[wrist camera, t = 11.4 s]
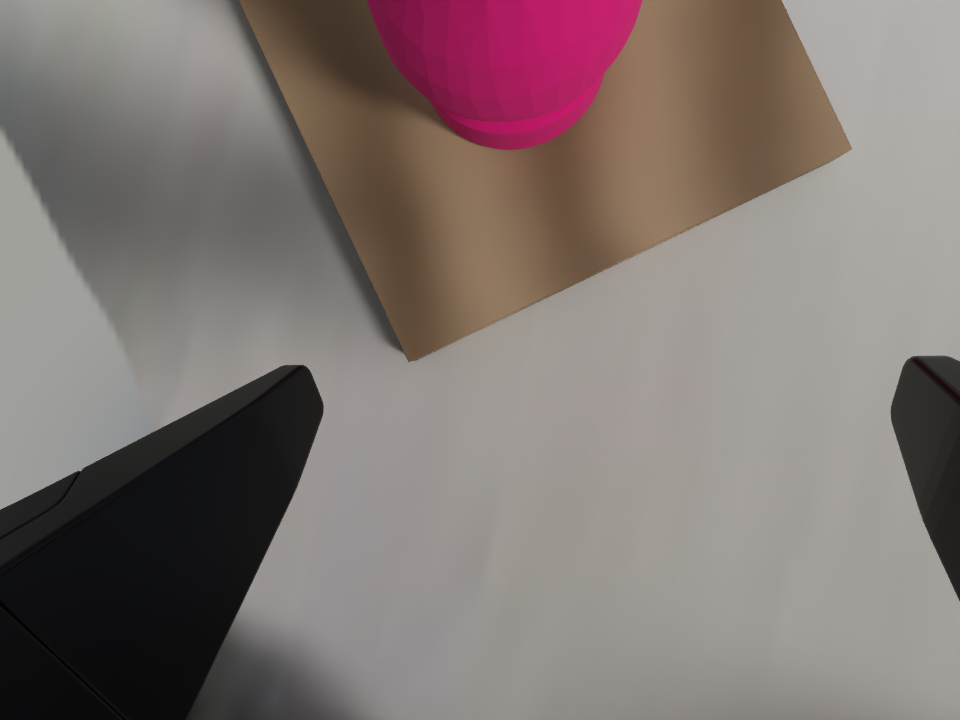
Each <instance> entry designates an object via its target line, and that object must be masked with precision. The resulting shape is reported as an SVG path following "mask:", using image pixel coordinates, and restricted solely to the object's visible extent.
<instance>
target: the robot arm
mask: <svg viewBox="0 0 960 720" xmlns="http://www.w3.org/2000/svg"><path fill="white" fill-rule="evenodd" d="M322 416H323V401H322V399H321V396H320V394H319V391H318V389H317V386H316V384H315V381H314V379H313V376H312V374H311V372H310V370H309V369H308V368H307V367H306V366H304V365H285V366H281V367H279V368H277V369H275V370H273V371H271V372H269V373H267V374H265V375H264V376H262V377H260V378H258V379H256V380H254V381H252V382H250V383H248V384H246V385H244V386H242V387H240V388H238V389H236V390H234V391H232V392H230V393H229V394H227V395H225V396H223V397H221V398H219V399H217V400H215V401H213V402H211V403H209V404H207V405H205V406H203V407H201V408H199V409H197V410H196V411H194V412H192V413H190V414H188V415H186V416H184V417H182V418H180V419H178V420H176V421H174V422H172V423H170V424H168V425H166V426H164V427H162V428H161V429H159V430H157V431H155V432H153V433H151V434H149V435H147V436H145V437H143V438H141V439H139V440H137V441H136V442H133V443H131V444H129V445H128V446H126V447H124V448H122V449H120V450H118V451H116V452H114V453H112V454H110V455H108V456H106V457H104V458H102V459H100V460H98V461H96V462H95V463H93V464H91V465H89V466H87V467H85V468H83V469H82V471H77V472H75V473H73V474H71V475H69V476H67V477H65V478H63V479H61V480H59V481H57V482H55V483H54V484H52V485H49V486H47V487H45V488H44V489H41V490H39V491H37V492H35V493H33V494H32V495H29V496H28V497H25V498H24V499H22V500H20V501H18V502H16V503H13V504H11V505H9V506H7V507H5V508H3V509H1V510H0V720H187V718H188V716H189V714H190V712H191V709H192V707H193V705H194V703H195V701H196V699H197V697H198V695H199V693H200V691H201V688H202V686H203V684H204V682H205V680H206V678H207V676H208V674H209V672H210V670H211V667H212V665H213V663H214V661H215V659H216V657H217V655H218V653H219V651H220V649H221V646H222V644H223V642H224V640H225V638H226V636H227V634H228V632H229V630H230V628H231V625H232V623H233V621H234V619H235V617H236V615H237V613H238V611H239V609H240V607H241V605H242V602H243V600H244V598H245V596H246V594H247V592H248V590H249V588H250V586H251V584H252V581H253V579H254V577H255V575H256V573H257V571H258V569H259V567H260V565H261V563H262V560H263V558H264V556H265V554H266V552H267V550H268V548H269V546H270V544H271V542H272V539H273V537H274V535H275V533H276V531H277V529H278V527H279V525H280V523H281V521H282V518H283V516H284V514H285V512H286V510H287V508H288V506H289V504H290V502H291V500H292V497H293V495H294V493H295V491H296V488H297V486H298V483H299V481H300V478H301V475H302V473H303V470H304V467H305V464H306V461H307V458H308V456H309V453H310V450H311V447H312V444H313V442H314V439H315V436H316V433H317V430H318V427H319V425H320V422H321V419H322ZM891 421H892V425H893V428H894V431H895V434H896V438H897V441H898V444H899V447H900V450H901V454H902V457H903V460H904V463H905V466H906V470H907V473H908V476H909V479H910V482H911V486H912V489H913V492H914V495H915V498H916V502H917V505H918V508H919V510H920V513H921V516H922V519H923V522H924V524H925V527H926V529H927V531H928V533H929V536H930V538H931V540H932V543H933V545H934V547H935V549H936V551H937V553H938V555H939V558H940V560H941V562H942V564H943V566H944V568H945V571H946V573H947V575H948V577H949V579H950V581H951V583H952V586H953V588H954V590H955V592H956V594H957V596H958V599H959V601H960V361H958V360H955V359H953V358H951V357H948V356H913V357H911V358H909V359H908V360H907V361H906V362H905V364H904V366H903V368H902V372H901V375H900V378H899V382H898V385H897V388H896V392H895V395H894V398H893V402H892V406H891Z"/></svg>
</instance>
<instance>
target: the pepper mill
mask: <svg viewBox="0 0 960 720" xmlns="http://www.w3.org/2000/svg"><path fill="white" fill-rule="evenodd" d="M642 1H643V0H367V3H368V7H369V10H370V12H371V15H372V18H373V20H374V23H375V26H376V28H377V31H378V33H379V36H380V39H381V41H382V43H383V45H384V47H385V49H386V51H387V53H388V55H389V57H390V59H391V60H392V62H393V63H394V64H395V66H396V67H397V68H398V70H399V71H400V73H401V74H402V75H403V77H404V78H405V79H406V80H407V81H408V82H409V83H410V84H412V85H413V86H414V87H415V88H416V89H417V90H418V91H419V92H420V93H421V94H422V95H423V96H425V97H426V98H427V99H429V100H430V102H431V104H432V106H433V107H434V109H435V110H436V112H437V114H438V115H439V116H440V117H441V119H442V120H443V121H444V122H445V123H446V124H447V125H448V126H449V127H450V128H451V129H452V130H453V131H455V132H456V133H458V134H459V135H461V136H462V137H463V138H465V139H467V140H469V141H472V142H474V143H476V144H479V145H481V146H485V147H489V148H494V149H499V150H517V149H524V148H529V147H534V146H537V145H540V144H543V143H545V142H548V141H550V140H552V139H554V138H556V137H558V136H559V135H561V134H562V133H564V132H565V131H566V130H568V129H569V128H570V127H571V126H572V125H574V124H575V123H576V122H577V121H578V120H579V119H580V118H581V117H582V115H583V114H584V113H585V112H586V111H587V109H588V108H589V107H590V105H591V104H592V102H593V101H594V99H595V97H596V95H597V93H598V91H599V89H600V87H601V84H602V81H603V77H604V74H605V72H606V71H607V69H608V68H609V67H610V66H611V65H612V63H613V62H614V61H615V60H616V58H617V57H618V55H619V54H620V52H621V50H622V49H623V47H624V46H625V44H626V42H627V40H628V38H629V36H630V34H631V32H632V30H633V28H634V26H635V23H636V21H637V18H638V14H639V11H640V8H641V5H642Z"/></svg>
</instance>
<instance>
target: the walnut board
mask: <svg viewBox="0 0 960 720" xmlns="http://www.w3.org/2000/svg"><path fill="white" fill-rule="evenodd" d="M239 2H240V4H241V7H242V9H243V11H244V13H245V15H246V17H247V19H248V21H249V24H250V26H251V28H252V30H253V32H254V34H255V36H256V38H257V41H258V43H259V45H260V47H261V49H262V51H263V53H264V55H265V58H266V60H267V62H268V64H269V66H270V68H271V70H272V73H273V75H274V77H275V79H276V81H277V83H278V85H279V87H280V90H281V92H282V94H283V96H284V98H285V100H286V102H287V104H288V107H289V109H290V111H291V113H292V115H293V117H294V119H295V121H296V124H297V126H298V128H299V130H300V132H301V134H302V136H303V138H304V141H305V143H306V145H307V147H308V149H309V151H310V153H311V155H312V158H313V160H314V162H315V164H316V166H317V168H318V170H319V172H320V175H321V177H322V179H323V181H324V183H325V185H326V187H327V189H328V192H329V194H330V196H331V198H332V200H333V202H334V204H335V207H336V209H337V211H338V213H339V215H340V217H341V219H342V221H343V224H344V226H345V228H346V230H347V232H348V234H349V236H350V238H351V241H352V243H353V245H354V247H355V249H356V251H357V253H358V255H359V258H360V260H361V262H362V264H363V266H364V268H365V270H366V272H367V275H368V277H369V279H370V281H371V283H372V285H373V287H374V289H375V292H376V294H377V296H378V298H379V300H380V302H381V304H382V306H383V309H384V311H385V313H386V315H387V317H388V319H389V321H390V323H391V326H392V328H393V330H394V332H395V334H396V336H397V338H398V340H399V343H400V345H401V347H402V349H403V351H404V353H405V355H406V358H407V360H408V362H410V361H415V360H418V359H420V358H422V357H424V356H426V355H428V354H430V353H432V352H435V351H437V350H439V349H441V348H443V347H445V346H447V345H449V344H451V343H453V342H455V341H458V340H460V339H462V338H464V337H466V336H468V335H470V334H472V333H474V332H476V331H478V330H480V329H483V328H485V327H487V326H489V325H491V324H493V323H495V322H497V321H499V320H501V319H503V318H506V317H508V316H510V315H512V314H514V313H516V312H518V311H520V310H522V309H524V308H526V307H528V306H531V305H533V304H535V303H537V302H539V301H541V300H543V299H545V298H547V297H549V296H551V295H554V294H556V293H558V292H560V291H562V290H564V289H566V288H568V287H570V286H572V285H574V284H576V283H579V282H581V281H583V280H585V279H587V278H589V277H591V276H593V275H595V274H597V273H599V272H602V271H604V270H606V269H608V268H610V267H612V266H614V265H616V264H618V263H620V262H622V261H624V260H627V259H629V258H631V257H633V256H635V255H637V254H639V253H641V252H643V251H645V250H647V249H650V248H652V247H654V246H656V245H658V244H660V243H662V242H664V241H666V240H668V239H670V238H672V237H675V236H677V235H679V234H681V233H683V232H685V231H687V230H689V229H691V228H693V227H695V226H698V225H700V224H702V223H704V222H706V221H708V220H710V219H712V218H714V217H716V216H718V215H720V214H723V213H725V212H727V211H729V210H731V209H733V208H735V207H737V206H739V205H741V204H743V203H746V202H748V201H750V200H752V199H754V198H756V197H758V196H760V195H762V194H764V193H766V192H768V191H771V190H773V189H775V188H777V187H779V186H781V185H783V184H785V183H787V182H789V181H791V180H794V179H796V178H798V177H800V176H802V175H804V174H806V173H808V172H810V171H812V170H814V169H816V168H819V167H821V166H823V165H825V164H827V163H829V162H831V161H833V160H835V159H836V158H838V157H840V156H841V155H843V154H845V153H846V152H848V151H850V150H851V149H852V147H851V145H850V143H849V141H848V139H847V137H846V135H845V133H844V131H843V129H842V126H841V124H840V122H839V120H838V118H837V116H836V114H835V112H834V110H833V108H832V105H831V103H830V101H829V99H828V97H827V95H826V93H825V91H824V89H823V87H822V85H821V82H820V80H819V78H818V76H817V74H816V72H815V70H814V68H813V66H812V64H811V61H810V59H809V57H808V55H807V53H806V51H805V49H804V47H803V45H802V43H801V40H800V38H799V36H798V34H797V32H796V30H795V28H794V26H793V24H792V22H791V20H790V17H789V15H788V13H787V11H786V9H785V7H784V5H783V3H782V1H781V0H643V1H642V5H641V8H640V11H639V14H638V18H637V21H636V23H635V26H634V28H633V30H632V32H631V34H630V36H629V38H628V40H627V42H626V44H625V46H624V47H623V49H622V50H621V52H620V54H619V55H618V57H617V58H616V60H615V61H614V62H613V63H612V65H611V66H610V67H609V68H608V69H607V71H606V72H605V74H604V77H603V81H602V84H601V87H600V89H599V91H598V93H597V95H596V97H595V99H594V101H593V102H592V104H591V105H590V107H589V108H588V109H587V111H586V112H585V113H584V114H583V115H582V117H581V118H580V119H579V120H578V121H577V122H576V123H575V124H574V125H572V126H571V127H570V128H569V129H568V130H566V131H565V132H564V133H562V134H561V135H559V136H558V137H556V138H554V139H552V140H550V141H548V142H545V143H543V144H540V145H537V146H534V147H529V148H524V149H517V150H499V149H494V148H489V147H485V146H481V145H479V144H476V143H474V142H472V141H469V140H467V139H465V138H463V137H462V136H461V135H459V134H458V133H456V132H455V131H453V130H452V129H451V128H450V127H449V126H448V125H447V124H446V123H445V122H444V121H443V120H442V119H441V117H440V116H439V115H438V114H437V112H436V110H435V109H434V107H433V106H432V104H431V102H430V100H429V99H427V98H426V97H425V96H423V95H422V94H421V93H420V92H419V91H418V90H417V89H416V88H415V87H414V86H413V85H412V84H410V83H409V82H408V81H407V80H406V79H405V78H404V77H403V75H402V74H401V73H400V71H399V70H398V68H397V67H396V66H395V64H394V63H393V62H392V60H391V59H390V57H389V55H388V53H387V51H386V49H385V47H384V45H383V43H382V41H381V39H380V36H379V33H378V31H377V28H376V26H375V23H374V20H373V18H372V15H371V12H370V10H369V7H368V3H367V0H239Z"/></svg>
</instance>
